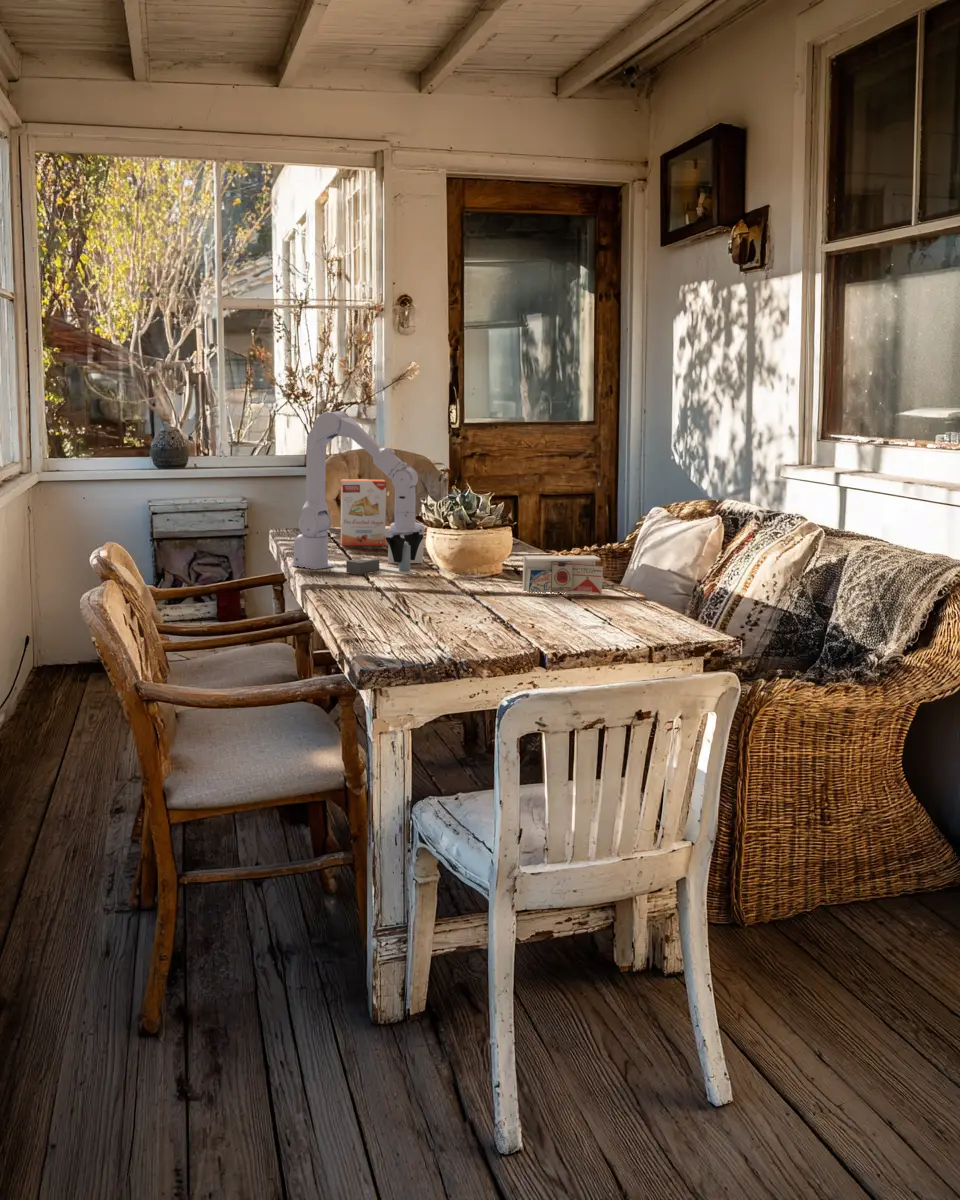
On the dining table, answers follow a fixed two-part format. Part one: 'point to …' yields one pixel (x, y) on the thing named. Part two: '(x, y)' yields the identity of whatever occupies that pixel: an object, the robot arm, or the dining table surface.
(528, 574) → the cigarette display
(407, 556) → the peg
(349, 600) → the dining table surface
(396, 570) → the batten
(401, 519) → the robot arm
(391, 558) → the light grey rounded block
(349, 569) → the box
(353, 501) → the cracker box
